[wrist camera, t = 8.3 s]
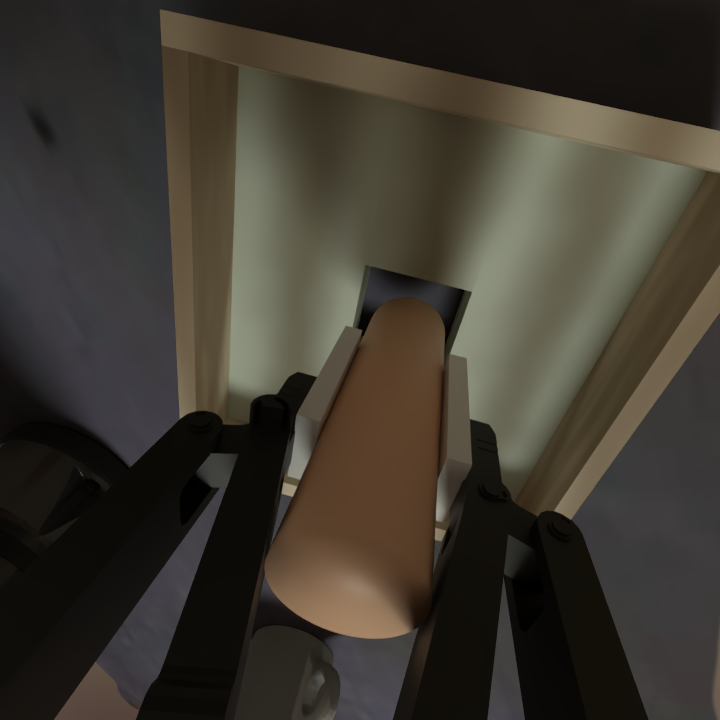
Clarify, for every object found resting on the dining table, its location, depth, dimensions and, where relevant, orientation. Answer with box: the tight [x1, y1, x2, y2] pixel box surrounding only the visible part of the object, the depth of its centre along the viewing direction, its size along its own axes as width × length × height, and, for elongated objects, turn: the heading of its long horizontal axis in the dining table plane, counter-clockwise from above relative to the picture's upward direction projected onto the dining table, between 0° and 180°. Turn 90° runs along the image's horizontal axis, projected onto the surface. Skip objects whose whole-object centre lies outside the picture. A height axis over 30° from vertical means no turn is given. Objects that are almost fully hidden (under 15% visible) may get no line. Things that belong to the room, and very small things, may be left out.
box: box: [160, 9, 720, 541], centre depth 22 cm, size 22×22×7 cm
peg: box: [264, 297, 445, 639], centre depth 16 cm, size 4×4×14 cm
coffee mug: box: [234, 625, 340, 720], centre depth 44 cm, size 13×10×10 cm
